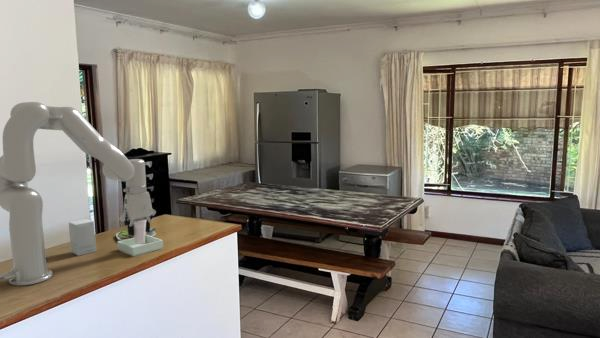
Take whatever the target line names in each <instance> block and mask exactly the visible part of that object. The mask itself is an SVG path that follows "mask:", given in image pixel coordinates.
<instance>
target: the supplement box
mask: <svg viewBox="0 0 600 338" xmlns="http://www.w3.org/2000/svg"><path fill="white" fill-rule="evenodd" d="M68 231H69V232H68V233H69V240H70V241H69V242H70V253H72V254H73V255H76V256H79V257H80V256H82V255H87V254H91V253H95V252H97V245H96V234H95V233H96V232H95V231H96V230H95V221H94V220H91V219H89V218H83V219H78V220H73V221H69V222H68Z"/></svg>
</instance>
